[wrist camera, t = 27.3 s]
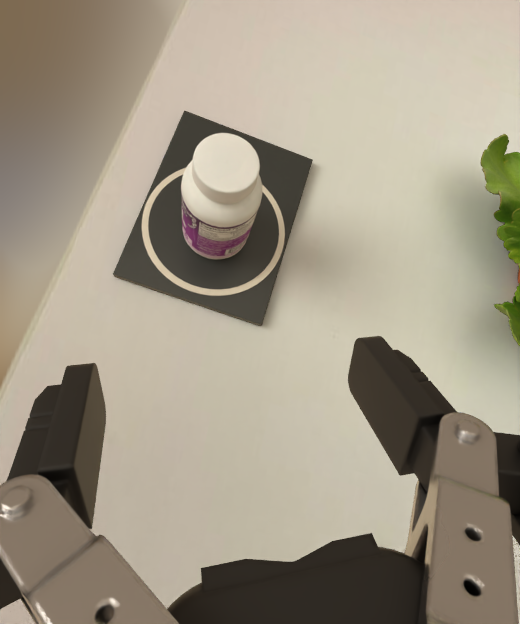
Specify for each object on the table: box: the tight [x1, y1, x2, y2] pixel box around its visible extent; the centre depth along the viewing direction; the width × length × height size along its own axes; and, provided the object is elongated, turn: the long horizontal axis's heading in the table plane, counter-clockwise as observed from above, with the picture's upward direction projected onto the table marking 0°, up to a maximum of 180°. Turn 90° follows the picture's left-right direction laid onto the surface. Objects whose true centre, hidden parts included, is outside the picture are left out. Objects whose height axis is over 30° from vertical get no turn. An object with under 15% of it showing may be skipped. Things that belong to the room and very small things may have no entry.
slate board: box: [113, 111, 313, 326], centre depth 34 cm, size 16×12×1 cm
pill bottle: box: [181, 133, 262, 260], centre depth 29 cm, size 5×5×10 cm
